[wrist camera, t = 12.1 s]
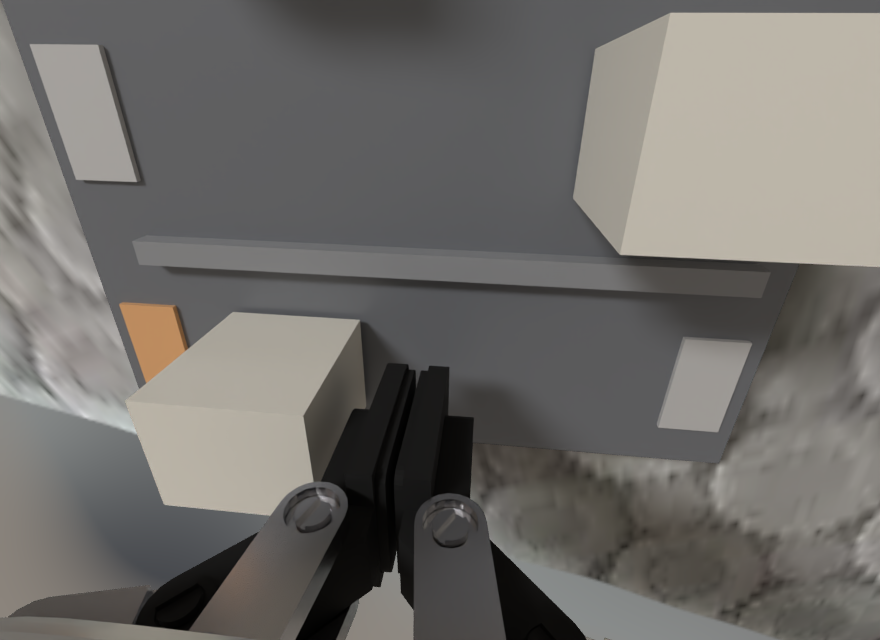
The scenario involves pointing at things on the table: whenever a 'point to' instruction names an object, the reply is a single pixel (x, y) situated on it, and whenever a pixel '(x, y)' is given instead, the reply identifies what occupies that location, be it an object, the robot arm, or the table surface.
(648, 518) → the table surface
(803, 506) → the table surface
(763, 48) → the tab
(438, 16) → the switch bank
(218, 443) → the tab
